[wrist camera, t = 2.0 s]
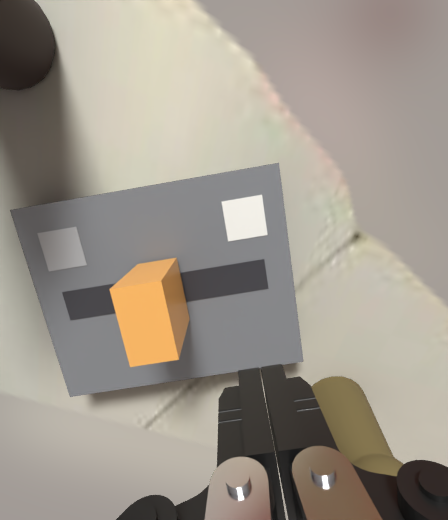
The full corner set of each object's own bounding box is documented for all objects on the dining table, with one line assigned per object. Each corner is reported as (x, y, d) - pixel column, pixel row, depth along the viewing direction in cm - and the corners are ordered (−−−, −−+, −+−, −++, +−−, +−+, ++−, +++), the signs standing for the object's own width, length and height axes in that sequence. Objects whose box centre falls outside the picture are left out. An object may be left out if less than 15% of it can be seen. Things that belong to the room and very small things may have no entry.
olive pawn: (343, 439, 31) (407, 571, 20) (291, 415, 30) (328, 538, 20) (377, 392, 30) (463, 506, 19) (324, 366, 29) (382, 469, 19)
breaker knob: (152, 324, 25) (129, 367, 19) (137, 264, 23) (109, 289, 18) (189, 318, 24) (178, 359, 19) (176, 257, 23) (161, 280, 17)
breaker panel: (85, 376, 29) (69, 397, 26) (34, 207, 26) (9, 210, 23) (295, 343, 29) (303, 361, 26) (272, 165, 25) (278, 162, 22)
